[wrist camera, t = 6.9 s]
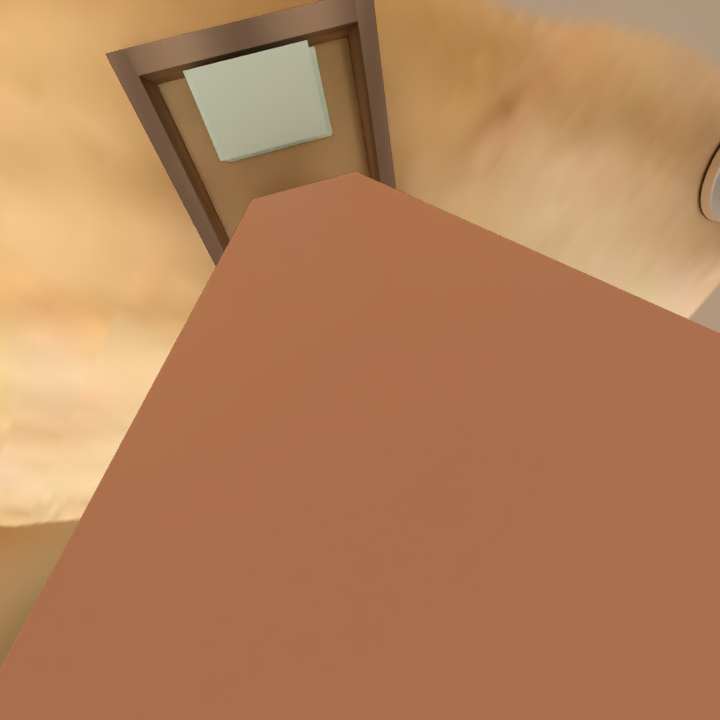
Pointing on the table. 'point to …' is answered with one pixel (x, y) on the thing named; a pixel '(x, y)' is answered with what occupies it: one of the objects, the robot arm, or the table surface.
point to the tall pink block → (397, 492)
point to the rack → (174, 55)
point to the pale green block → (261, 101)
